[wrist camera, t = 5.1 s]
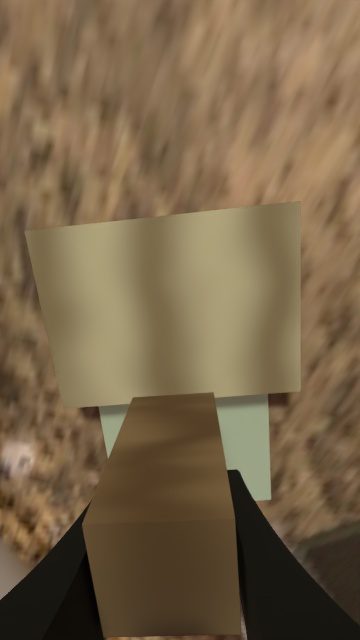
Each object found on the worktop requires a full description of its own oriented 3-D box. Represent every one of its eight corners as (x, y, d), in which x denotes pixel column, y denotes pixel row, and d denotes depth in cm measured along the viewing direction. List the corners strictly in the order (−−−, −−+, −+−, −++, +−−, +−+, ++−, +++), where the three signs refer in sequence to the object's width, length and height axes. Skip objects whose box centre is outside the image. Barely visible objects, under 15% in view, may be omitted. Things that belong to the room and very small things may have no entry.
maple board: (285, 207, 18) (300, 201, 15) (287, 374, 20) (300, 391, 18) (45, 232, 19) (24, 230, 16) (77, 390, 21) (63, 408, 19)
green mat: (265, 382, 21) (267, 385, 20) (269, 494, 23) (271, 499, 22) (99, 394, 21) (96, 398, 21) (118, 502, 24) (117, 507, 23)
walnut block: (213, 392, 14) (235, 518, 7) (218, 463, 15) (241, 634, 8) (132, 397, 15) (82, 525, 8) (142, 467, 15) (103, 637, 9)
